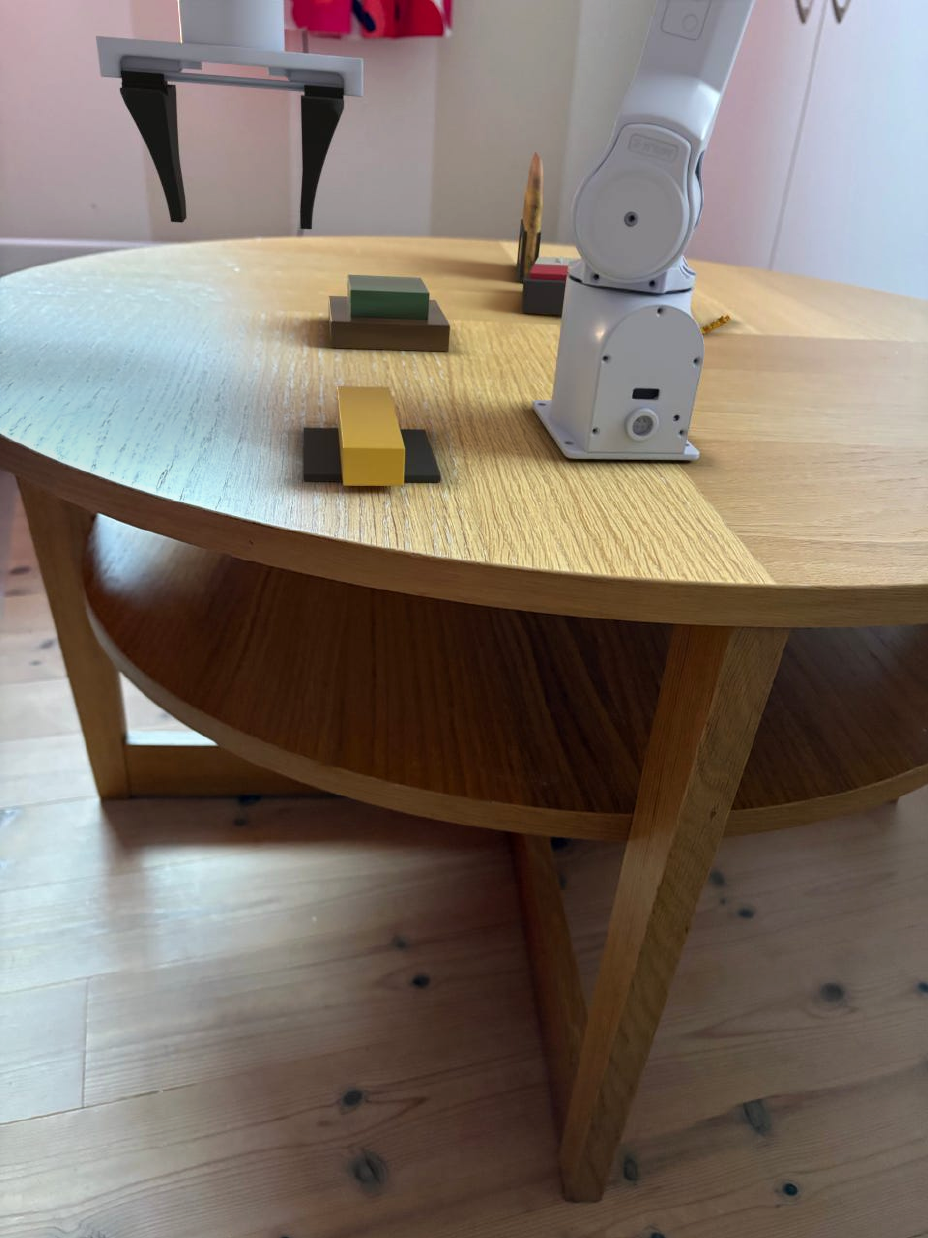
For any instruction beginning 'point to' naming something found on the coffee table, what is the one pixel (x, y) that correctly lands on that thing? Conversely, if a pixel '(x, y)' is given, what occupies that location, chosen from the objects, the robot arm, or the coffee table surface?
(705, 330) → the keychain
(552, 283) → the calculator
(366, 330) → the stepped green brown block
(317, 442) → the mat
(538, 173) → the ammunition clip
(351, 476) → the bar
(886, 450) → the coffee table surface
